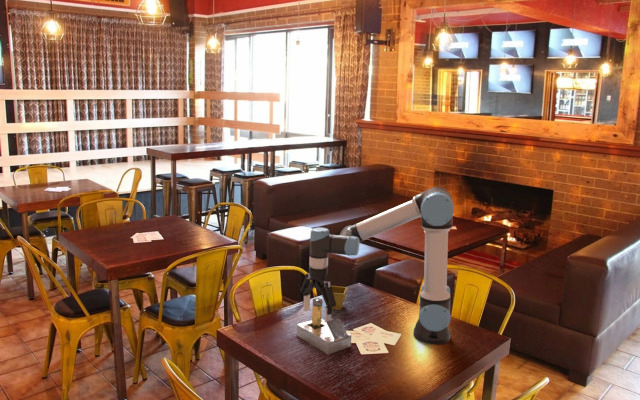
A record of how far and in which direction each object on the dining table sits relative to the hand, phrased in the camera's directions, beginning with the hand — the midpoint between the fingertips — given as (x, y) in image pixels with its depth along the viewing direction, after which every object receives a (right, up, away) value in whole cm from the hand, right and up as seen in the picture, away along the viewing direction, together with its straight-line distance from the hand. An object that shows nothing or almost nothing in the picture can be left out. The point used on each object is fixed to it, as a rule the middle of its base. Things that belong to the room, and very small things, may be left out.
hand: (316, 315), depth 232 cm
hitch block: (+3, -10, -2) cm, 10 cm away
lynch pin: (0, -9, +2) cm, 9 cm away
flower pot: (+9, -3, +32) cm, 34 cm away
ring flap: (+8, -4, -9) cm, 13 cm away
